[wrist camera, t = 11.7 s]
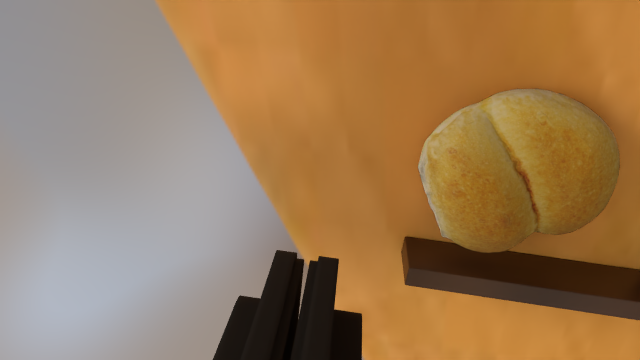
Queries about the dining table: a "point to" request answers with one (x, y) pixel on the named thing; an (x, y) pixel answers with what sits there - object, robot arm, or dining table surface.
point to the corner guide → (522, 278)
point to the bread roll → (518, 169)
